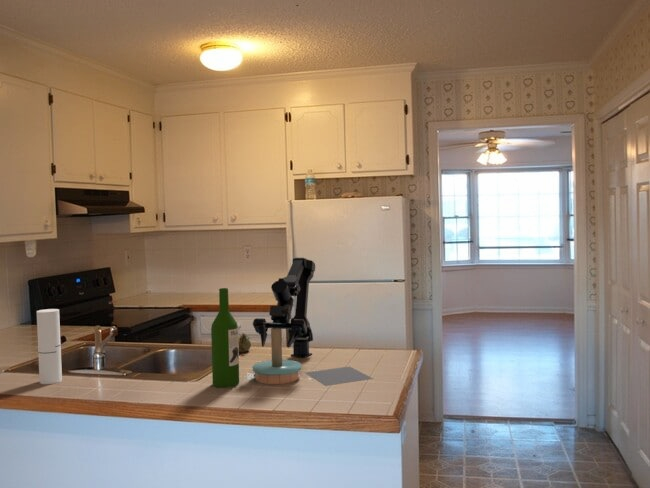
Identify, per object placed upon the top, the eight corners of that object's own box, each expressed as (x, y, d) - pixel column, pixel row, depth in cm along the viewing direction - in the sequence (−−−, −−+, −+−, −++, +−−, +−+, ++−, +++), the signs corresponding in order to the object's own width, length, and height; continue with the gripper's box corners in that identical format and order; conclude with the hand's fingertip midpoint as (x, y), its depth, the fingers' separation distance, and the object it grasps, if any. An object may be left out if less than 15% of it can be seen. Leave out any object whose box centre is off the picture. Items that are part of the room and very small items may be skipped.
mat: (304, 373, 211) (304, 372, 211) (349, 367, 219) (349, 366, 219) (325, 386, 195) (325, 385, 195) (373, 379, 202) (373, 378, 202)
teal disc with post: (293, 360, 216) (292, 322, 215) (307, 372, 200) (307, 331, 199) (248, 365, 210) (247, 326, 210) (258, 377, 194) (257, 335, 194)
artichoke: (253, 349, 251) (253, 330, 250) (249, 353, 243) (249, 334, 242) (236, 349, 251) (235, 330, 251) (231, 353, 244) (231, 334, 243)
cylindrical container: (66, 379, 209) (63, 309, 208) (51, 384, 202) (48, 312, 201) (50, 377, 211) (47, 308, 210) (34, 383, 204) (31, 311, 203)
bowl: (273, 370, 216) (273, 361, 215) (307, 376, 207) (307, 366, 207) (246, 380, 203) (246, 370, 203) (281, 387, 195) (280, 376, 195)
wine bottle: (231, 388, 194) (228, 290, 192) (207, 386, 197) (204, 289, 195) (244, 381, 202) (241, 287, 201) (221, 379, 205) (218, 286, 204)
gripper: (253, 295, 210) (243, 332, 199) (304, 296, 206) (296, 334, 195) (261, 314, 218) (252, 350, 208) (310, 315, 214) (303, 352, 203)
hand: (275, 346), depth 203 cm, fingers open, 9 cm apart
